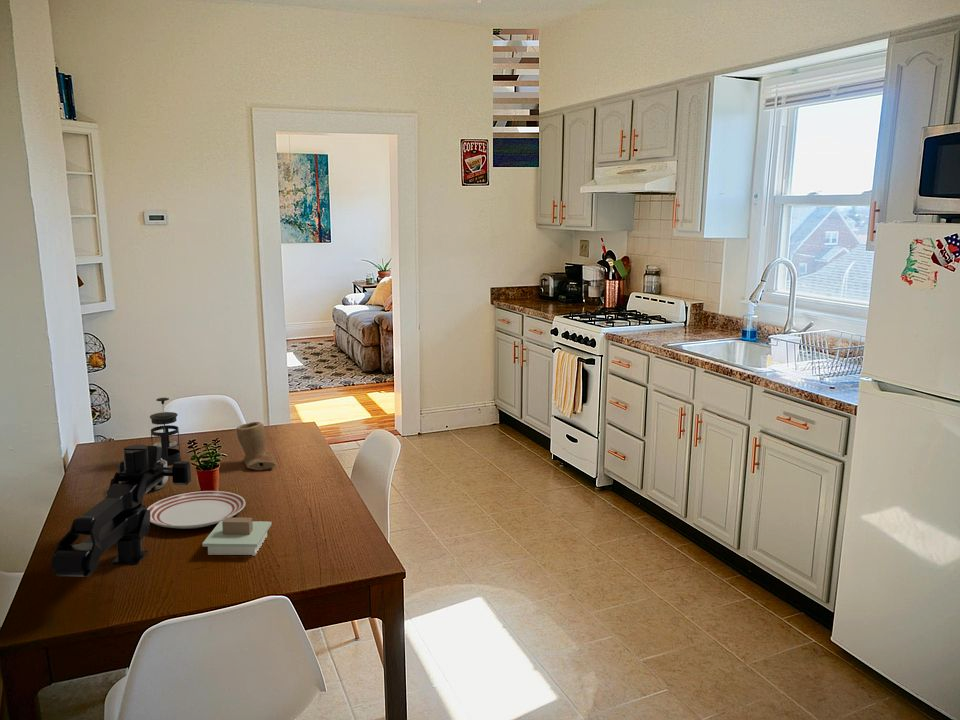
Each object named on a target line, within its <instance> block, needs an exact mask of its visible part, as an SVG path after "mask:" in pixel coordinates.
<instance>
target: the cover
mask: <svg viewBox="0 0 960 720" xmlns="http://www.w3.org/2000/svg"><path fill="white" fill-rule="evenodd" d="M271 526H272V521H260V520H259V521H254V520H253V517H234V516H232V517H226V518H225V519H224V520H223V521H220V522H219V523H216V526H215V527H214V528H213V530H212V531H210V533H209V534H208V535H207V537H206V538H205V539H204V540H203V542H202V543H201V547H207V548H208V547H258V545H259V543H260V542H261V540H262V539H263V537H264V535H265V534H266V532H267V533H268V531H269V529H270V528H271Z"/></svg>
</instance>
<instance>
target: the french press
mask: <svg viewBox="0 0 960 720" xmlns="http://www.w3.org/2000/svg"><path fill="white" fill-rule="evenodd" d="M169 400H170V398H168V397H158V398H156V399H155V401H157V402H161V405H162V406H161V407H162V412H157V413H156V412H155V413H153V414H150V415H149V419H150V421H151V424H152V425H158V426H155V427H152V428H151V429H150V436H151V440H150V441H151V446H160V447H161V448H162V454H161V458H162V460H165V461H167V467H169V466H173V463H174V462H176V461H182V458H181V447H180V446H181V445H180V432H179V430H180V428H179V426H177V425H174V423H176V422H177V417H178V415H179V414H178V413H177V412H173V411H165V407H164V404H165V402H166V401H169ZM169 424H171V425H169ZM172 424H173V425H172ZM159 425H160V426H159ZM160 430H162V431H163V432H157V431H160ZM169 430H171V431H169ZM176 434H177V439H178V441H176V440H170V436H173V435H174V436H175V435H176ZM153 436H154V437H160V441H158V442H155V443H153ZM176 447H178V449H177V448H176Z"/></svg>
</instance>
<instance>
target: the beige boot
mask: <svg viewBox="0 0 960 720" xmlns="http://www.w3.org/2000/svg"><path fill="white" fill-rule="evenodd" d="M265 429H266V428H265V425H264V424H263V423H262V422H260V421H252V422H248V423H243V424H240V425H238V426H237V427H236V436H237V439H238V441H239V444H240V446H241V448H242V450H243V452H244V457H243V462H244V464H245V465H246V467H247V469H251V470H255V471H265V470H270V469H272V468H274V467H276V466H277V463H276V460H275V458H274V457H273V455H272V454H271V453H270V452H266V439H267V437H266V430H265Z"/></svg>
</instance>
